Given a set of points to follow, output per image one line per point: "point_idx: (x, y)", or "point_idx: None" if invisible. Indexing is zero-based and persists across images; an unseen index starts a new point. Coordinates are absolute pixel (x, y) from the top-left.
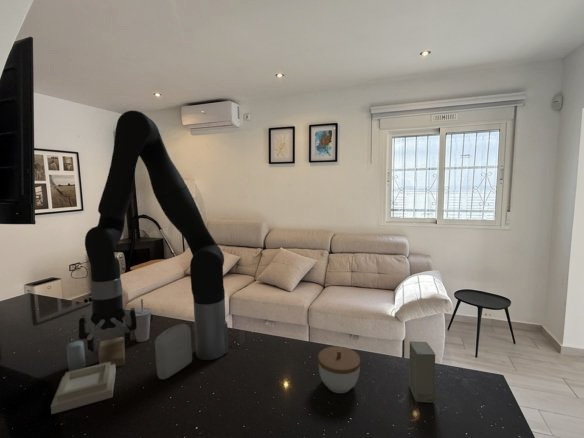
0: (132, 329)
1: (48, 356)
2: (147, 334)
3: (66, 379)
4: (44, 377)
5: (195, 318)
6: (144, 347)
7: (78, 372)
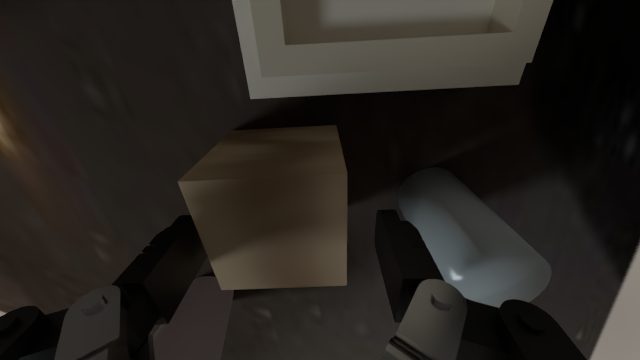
0: (57, 316)
1: None
2: None
3: None
4: (544, 170)
5: None
6: None
7: (455, 35)
